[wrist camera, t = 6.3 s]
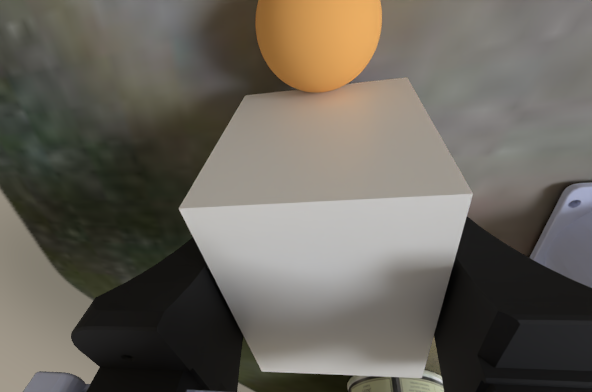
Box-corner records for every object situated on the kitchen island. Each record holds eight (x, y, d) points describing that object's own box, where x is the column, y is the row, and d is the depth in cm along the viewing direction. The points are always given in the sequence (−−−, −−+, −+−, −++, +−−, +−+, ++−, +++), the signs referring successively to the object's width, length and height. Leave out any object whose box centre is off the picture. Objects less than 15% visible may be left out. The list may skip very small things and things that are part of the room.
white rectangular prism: (393, 242, 16) (421, 378, 11) (283, 245, 17) (261, 371, 12) (407, 77, 11) (473, 193, 6) (245, 95, 12) (178, 208, 7)
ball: (382, 111, 10) (393, -5, 7) (270, 121, 11) (226, 22, 8) (375, 30, 12) (380, -98, 8) (277, 44, 13) (244, -68, 9)
